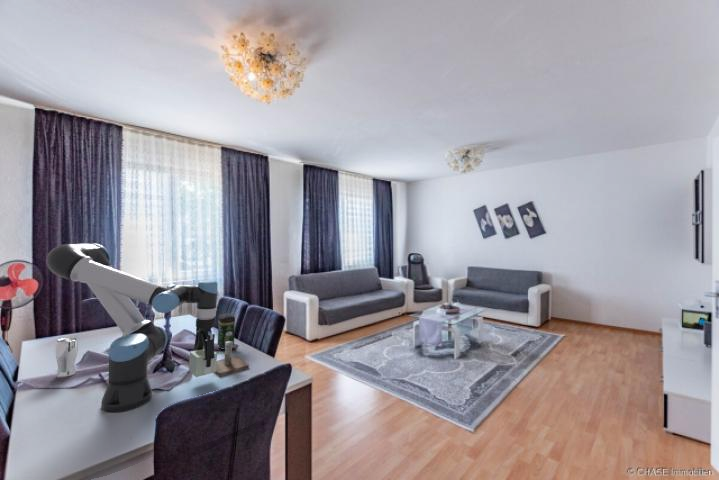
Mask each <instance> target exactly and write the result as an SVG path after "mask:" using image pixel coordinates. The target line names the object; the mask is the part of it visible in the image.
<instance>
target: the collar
mask: <svg viewBox="0 0 719 480" xmlns="http://www.w3.org/2000/svg"><path fill="white" fill-rule="evenodd" d="M217 358H218V352H216V351H215V350H214V358H213V359H211V374H215V373H214V372H216V363H217V361H218V359H217ZM203 359H205V351H204V348H203V349H201V350H196V349H195V350H191V351H189V363H188V364H189V366H188V367H189V368H188V371H189V372H190V373H191V374H192V375H193V376H194V377H195V378H199V377H201V376H204V375H203V369H204V360H203Z"/></svg>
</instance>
